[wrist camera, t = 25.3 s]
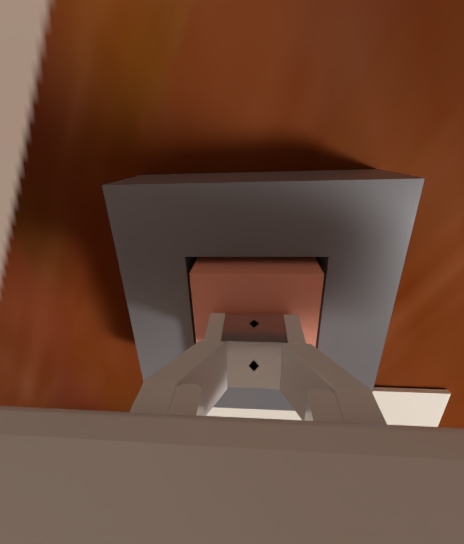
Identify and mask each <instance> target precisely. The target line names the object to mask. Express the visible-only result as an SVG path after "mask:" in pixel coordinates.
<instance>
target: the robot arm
mask: <svg viewBox="0 0 464 544" xmlns="http://www.w3.org/2000/svg"><path fill="white" fill-rule="evenodd" d="M227 387H243V388H266V389H280V391H281V392H282V394H283V395H284V396H285V398H286V399H287V401H288V402H289V403H290V405H291V406H292V407H293V409H294V410H295V411H296V413H297V414H298V415H299V417H300V418H301V419H302V420H285V419H264V418H242V417H221V416H206V415H207V414H208V413H209V412H210V410H211V409H212V408H213V406H214V405H215V404H216V403H217V401H218V400H219V399H220V398H221V396H222V395H223V394H224V393H225V391H226V390H227V389H228V388H227ZM0 544H464V428H449V427H427V426H407V425H387V423H386V421H385V419H384V417H383V414H382V412H381V410H380V408H379V406H378V404H377V402H376V400H375V398H374V395H373V393H372V391H371V390H370V389H369V388H368V387H366V386H365V385H364V384H363V383H361V382H360V381H359V380H357V379H356V378H355V377H353V376H352V375H351V374H349V373H348V372H347V371H346V370H344V369H343V368H342V367H340V366H339V365H338V364H336V363H335V362H334V361H332V360H331V359H330V358H329V357H327V356H326V355H325V354H323V353H322V352H321V351H319V350H318V349H317V348H316V347H314V346H313V345H312V344H306V341H305V337H304V333H303V330H302V326H301V322H300V318H299V315H298V314H243V313H211V314H210V318H209V322H208V325H207V329H206V333H205V337H204V341H198V342H197V343H195V344H194V345H193V346H191V347H190V348H189V349H187V350H186V351H184V352H183V353H182V354H180V355H179V356H178V357H176V358H175V359H173V360H172V361H171V362H169V363H168V364H167V365H165V366H164V367H162V368H161V369H160V370H158V371H157V372H156V373H154V374H153V375H151V376H150V377H149V378H147V379H146V380H145V381H144V383H143V385H142V387H141V389H140V391H139V393H138V395H137V397H136V400H135V402H134V404H133V406H132V408H131V410H130V412H117V411H97V410H76V409H56V408H35V407H15V406H0Z"/></svg>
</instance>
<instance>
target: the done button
mask: <svg viewBox="0 0 464 544" xmlns="http://www.w3.org/2000/svg"><path fill="white" fill-rule="evenodd" d="M189 275H190V285H191V295H192V305H193V315H194V325H195V335H196V343H197V342H198V341H204V337H205V333H206V329H207V325H208V322H209V318H210V314H211V313H243V314H298V315H299V318H300V322H301V326H302V330H303V333H304V337H305V341H306V344H312V345H313V346H314V347H316V339H317V331H318V322H319V314H320V305H321V297H322V288H323V280H324V273H323V271H322V269H321V268H320V266H319V264H318V262H317V260H316V258H315V257H198V258H197V260H196V262H195V263H194V265H193V267H192V269H191V271H190V273H189Z"/></svg>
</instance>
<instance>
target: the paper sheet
mask: <svg viewBox="0 0 464 544" xmlns="http://www.w3.org/2000/svg"><path fill="white" fill-rule="evenodd" d="M372 393H373V395H374V398H375V400H376V402H377V404H378V406H379V408H380V410H381V412H382V414H383V417H384V419H385V421H386V423H387V425H407V426H427V427H438V425H439V422H440V420H441V417H442V415H443V412H444V410H445V407H446V405H447V402H448V400H449V397H450V395H451V393H450V392H449V391H448V390H443V389H415V388H387V387H374V388H373V392H372ZM206 416H221V417H242V418H264V419H285V420H302V419H301V418H300V417H299V415H298V414H297V413H296V411H285V410H262V409H239V408H216V407H213V408H212V409H211V410H210V412H209V413H208V414H207V415H206Z"/></svg>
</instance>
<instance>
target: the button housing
mask: <svg viewBox="0 0 464 544" xmlns="http://www.w3.org/2000/svg"><path fill="white" fill-rule="evenodd" d="M424 179H425V178H420V177H415V176H410V175H405V174H400V173H395V172H390V171H385V170H380V169H361V170H318V171H276V172H234V173H191V174H149V175H138V176H135V177H131V178H127V179H123V180H119V181H116V182H112V183H108V184H104V185H102V188H103V193H104V198H105V202H106V207H107V212H108V216H109V221H110V226H111V230H112V235H113V240H114V245H115V249H116V254H117V259H118V263H119V268H120V273H121V278H122V282H123V287H124V292H125V296H126V301H127V306H128V310H129V315H130V320H131V325H132V329H133V334H134V339H135V343H136V348H137V353H138V358H139V362H140V367H141V372H142V376H143V381H145V380H146V379H147V378H149V377H150V376H151V375H153V374H154V373H156V372H157V371H158V370H160V369H161V368H162V367H164V366H165V365H167V364H168V363H169V362H171V361H172V360H173V359H175V358H176V357H178V356H179V355H180V354H182V353H183V352H184V351H186V350H187V349H189V348H190V347H191V346H193V345H194V344H195V343H196V335H195V325H194V315H193V305H192V295H191V285H190V275H189V273H190V271H191V269H192V267H193V265H194V263H195V262H196V260H197V258H198V257H315V258H316V260H317V262H318V264H319V266H320V268H321V269H322V271H323V273H324V280H323V288H322V297H321V305H320V314H319V322H318V331H317V339H316V348H317V349H318V350H319V351H321V352H322V353H323V354H325V355H326V356H327V357H329V358H330V359H331V360H332V361H334V362H335V363H336V364H338V365H339V366H340V367H342V368H343V369H344V370H346V371H347V372H348V373H349V374H351V375H352V376H353V377H355V378H356V379H357V380H359V381H360V382H361V383H363V384H364V385H365V386H366V387H368V388H369V389H370V390H371V391H372V392H373V388H374V384H375V380H376V376H377V372H378V368H379V364H380V359H381V355H382V351H383V347H384V343H385V339H386V335H387V331H388V327H389V323H390V318H391V314H392V310H393V306H394V302H395V298H396V294H397V290H398V286H399V282H400V278H401V273H402V269H403V265H404V261H405V257H406V253H407V249H408V245H409V241H410V237H411V232H412V228H413V224H414V220H415V216H416V212H417V208H418V204H419V200H420V196H421V192H422V187H423V183H424ZM227 388H228V389H227V390H226V391H225V393H224V394H223V395H222V396H221V398H220V399H219V400H218V401H217V403H216V404H215V405H214V406H213V407H216V408H239V409H262V410H285V411H295V410H294V409H293V407H292V406H291V405H290V403H289V402H288V401H287V399H286V398H285V396H284V395H283V394H282V392H281V391H280V389H266V388H243V387H227Z"/></svg>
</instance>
